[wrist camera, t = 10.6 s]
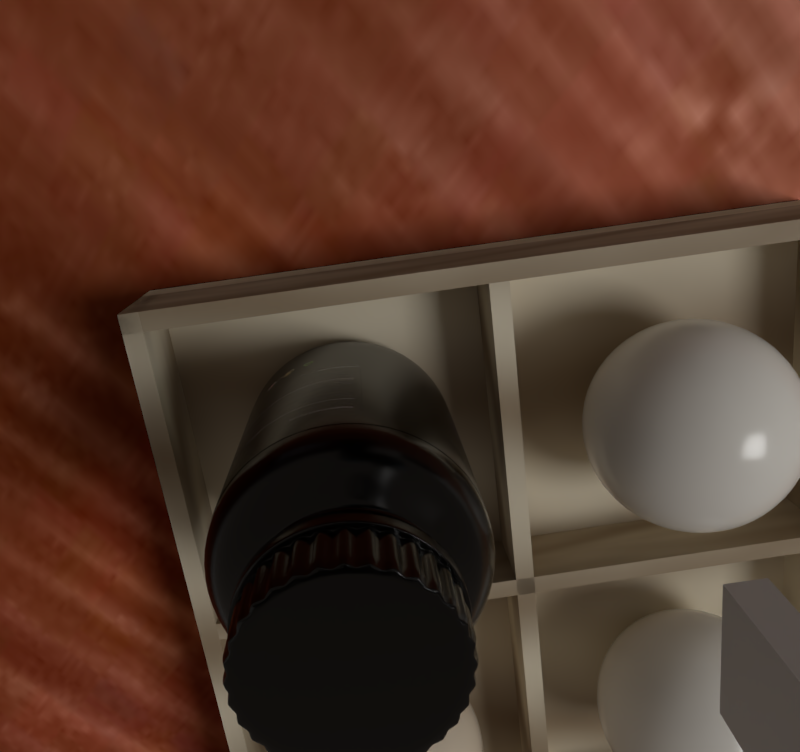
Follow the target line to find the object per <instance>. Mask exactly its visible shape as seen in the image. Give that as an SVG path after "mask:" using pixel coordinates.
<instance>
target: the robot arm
mask: <svg viewBox="0 0 800 752" xmlns="http://www.w3.org/2000/svg"><path fill="white" fill-rule="evenodd" d="M720 714H721V716H722V717H723V719H724V721H725V722H726V724H727V726H728V727H729V729H730V731H731V732H732V734H733V735H734V737H735V739H736V740H737V742H738V744H739V745H740V747H741V749H742V750H743V752H800V613H799V612H798V611H797V610H796V608H795V607H794V606H793V605H792V604H791V603H790V602H789V601H788V600H787V598H786V597H785V596H784V595H783V594H782V593H781V592H780V591H779V590H778V588H777V587H776V586H775V585H774V584H773V583H772V582H771V581H770V580H769V578H764V579H757V580H750V581H742V582H735V583H728V584H723V598H722V639H721V680H720Z"/></svg>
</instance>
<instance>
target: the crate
mask: <svg viewBox="0 0 800 752" xmlns="http://www.w3.org/2000/svg"><path fill="white" fill-rule="evenodd" d="M117 317H118V321H119V325H120V329H121V333H122V336H123V340H124V344H125V348H126V352H127V356H128V360H129V363H130V367H131V371H132V375H133V379H134V383H135V387H136V390H137V394H138V398H139V402H140V406H141V410H142V414H143V418H144V421H145V425H146V429H147V433H148V437H149V441H150V445H151V448H152V452H153V456H154V460H155V464H156V468H157V472H158V476H159V479H160V483H161V487H162V491H163V495H164V499H165V503H166V506H167V510H168V514H169V518H170V522H171V526H172V530H173V533H174V537H175V541H176V545H177V549H178V553H179V557H180V561H181V564H182V568H183V572H184V576H185V580H186V584H187V588H188V591H189V595H190V599H191V603H192V607H193V611H194V615H195V619H196V622H197V626H198V630H199V634H200V638H201V642H202V646H203V649H204V653H205V657H206V661H207V665H208V669H209V673H210V676H211V680H212V684H213V688H214V692H215V696H216V700H217V704H218V707H219V711H220V715H221V719H222V723H223V727H224V731H225V734H226V738H227V742H228V746H229V750H230V752H268V751H267V750H266V749H265V747H264V746H263V745H261V744H259V743H256V742H255V741H253V740H252V739H251V737H250V734H249V732H248V731H247V730H246V729H244V728H243V727H241V726H240V725H239V724H238V722H237V715H236V713H235V712H234V711H233V710H232V709H231V708H230V707H229V706H228V692H227V691H226V689H225V687H224V685H223V674H224V670H225V669H224V666H223V653H224V649H225V645H226V641H227V633H226V631H225V630H224V628H223V626H222V624H221V623H220V621H219V619H218V617H217V615H216V613H215V611H214V608H213V606H212V603H211V600H210V597H209V594H208V590H207V585H206V580H205V569H204V552H205V545H206V538H207V534H208V530H209V526H210V523H211V519H212V515H213V512H214V510H215V507H216V504H217V502H218V499H219V496H220V494H221V491H222V488H223V486H224V483H225V480H226V478H227V475H228V472H229V470H230V467H231V464H232V462H233V459H234V456H235V454H236V451H237V448H238V446H239V443H240V440H241V438H242V435H243V432H244V430H245V427H246V424H247V422H248V419H249V417H250V414H251V411H252V409H253V407H254V405H255V402H256V400H257V398H258V396H259V394H260V393H261V391H262V390H263V388H264V386H265V385H266V383H267V382H268V381H269V380H270V378H271V377H272V376H273V375H274V374H275V373H276V372H277V371H278V370H279V369H280V368H281V367H282V366H283V365H285V364H286V363H287V362H288V361H290V360H292V359H293V358H295V357H296V356H298V355H300V354H302V353H304V352H305V351H308V350H310V349H313V348H315V347H319V346H322V345H326V344H331V343H337V342H366V343H371V344H376V345H380V346H383V347H386V348H389V349H392V350H394V351H396V352H398V353H400V354H402V355H404V356H406V357H407V358H409V359H410V360H412V361H413V362H414V363H416V364H417V365H418V366H419V367H421V368H422V369H423V370H424V371H425V372H426V373H427V374H428V376H429V377H430V378H431V379H432V380H433V382H434V383H435V384H436V386H437V387H438V389H439V390H440V392H441V394H442V396H443V398H444V400H445V402H446V404H447V407H448V409H449V411H450V414H451V416H452V419H453V421H454V424H455V427H456V429H457V432H458V435H459V437H460V440H461V443H462V445H463V448H464V451H465V453H466V456H467V459H468V461H469V464H470V467H471V469H472V472H473V475H474V477H475V480H476V483H477V485H478V488H479V491H480V493H481V496H482V499H483V502H484V504H485V507H486V510H487V513H488V517H489V520H490V524H491V528H492V532H493V538H494V545H495V568H494V576H493V582H492V586H491V590H490V593H489V596H488V599H487V602H486V604H485V607H484V609H483V611H482V613H481V615H480V617H479V619H478V621H477V623H476V624H475V626H474V630H475V634H476V650H477V654H478V659H479V662H478V667H477V670H476V671H475V676H476V686H475V688H474V689H473V691H472V692H471V693H470V701H469V702H470V704H471V706H472V708H473V709H474V712H475V715H476V717H477V720H478V723H479V727H480V731H481V736H482V742H483V752H613V751H612V749H611V747H610V745H609V743H608V741H607V739H606V737H605V734H604V731H603V728H602V725H601V722H600V719H599V712H598V705H597V683H598V677H599V672H600V668H601V665H602V662H603V659H604V657H605V655H606V653H607V651H608V650H609V648H610V646H611V645H612V643H613V642H614V640H615V639H616V638H617V637H618V636H619V634H620V633H621V632H623V631H624V630H625V629H626V628H627V627H628V626H630V625H631V624H632V623H634V622H635V621H637V620H639V619H641V618H643V617H645V616H647V615H649V614H652V613H656V612H659V611H663V610H668V609H693V610H700V611H704V612H708V613H712V614H715V615H718V616H720V617H722V598H723V584H728V583H735V582H742V581H750V580H757V579H764V578H769V580H770V581H771V582H772V583H773V584H774V585H775V586H776V587H777V588H778V590H779V591H780V592H781V593H782V594H783V595H784V596H785V597H786V598H787V600H788V601H789V602H790V603H791V604H792V605H793V606H794V607H795V608H796V610H797V611H798V612H799V613H800V478H799V480H798V482H797V483H796V484H795V486H794V487H793V489H792V490H791V491H790V492H789V494H788V495H787V496H786V497H785V498H784V499H783V500H782V501H781V502H780V503H779V504H778V505H777V506H775V507H774V508H773V509H772V510H770V511H769V512H767V513H766V514H765V515H763V516H761V517H760V518H758V519H756V520H754V521H752V522H750V523H748V524H745V525H743V526H740V527H737V528H734V529H729V530H724V531H719V532H710V533H690V532H683V531H676V530H671V529H668V528H664V527H661V526H658V525H656V524H653V523H651V522H649V521H646V520H644V519H642V518H640V517H639V516H637V515H636V514H634V513H632V512H631V511H629V510H628V509H626V508H625V507H624V506H623V505H621V504H620V503H619V502H618V501H617V500H616V499H615V498H614V497H613V496H612V495H611V494H610V493H609V492H608V490H607V489H606V488H605V487H604V486H603V485H602V483H601V481H600V480H599V478H598V477H597V475H596V473H595V472H594V470H593V468H592V465H591V463H590V461H589V459H588V455H587V452H586V448H585V444H584V440H583V432H582V415H583V407H584V401H585V397H586V394H587V390H588V388H589V385H590V383H591V381H592V379H593V377H594V375H595V373H596V372H597V370H598V368H599V367H600V365H601V364H602V363H603V362H604V360H605V359H606V358H607V357H608V356H609V355H610V353H611V352H612V351H613V350H614V349H615V348H616V347H618V346H619V345H620V344H621V343H623V342H624V341H625V340H627V339H628V338H630V337H631V336H633V335H634V334H636V333H638V332H640V331H642V330H644V329H646V328H648V327H651V326H654V325H657V324H660V323H664V322H669V321H674V320H678V319H691V318H693V319H710V320H716V321H721V322H726V323H729V324H732V325H735V326H738V327H741V328H743V329H746V330H748V331H750V332H752V333H754V334H756V335H757V336H759V337H760V338H762V339H764V340H765V341H766V342H768V343H769V344H770V345H772V346H773V347H774V348H775V349H776V350H777V351H778V352H779V353H780V354H781V355H782V356H783V357H784V358H785V359H786V360H787V361H788V362H789V363H790V364H791V366H792V367H793V369H794V370H795V371H796V373H797V375H798V376H799V378H800V200H796V201H789V202H782V203H775V204H767V205H760V206H753V207H746V208H739V209H732V210H724V211H717V212H710V213H703V214H696V215H689V216H681V217H674V218H667V219H660V220H653V221H646V222H638V223H631V224H624V225H617V226H610V227H603V228H595V229H588V230H581V231H574V232H567V233H560V234H552V235H545V236H538V237H531V238H524V239H517V240H509V241H502V242H495V243H488V244H481V245H474V246H466V247H459V248H452V249H445V250H438V251H431V252H423V253H416V254H409V255H402V256H395V257H388V258H380V259H373V260H366V261H359V262H352V263H345V264H337V265H330V266H323V267H316V268H309V269H302V270H294V271H287V272H280V273H273V274H266V275H259V276H251V277H244V278H237V279H230V280H223V281H216V282H208V283H201V284H194V285H187V286H180V287H173V288H166V289H158V290H151V291H149V292H147V293H146V294H145V295H143V296H142V297H141V298H139V299H138V300H137V301H135V302H134V303H132V304H131V305H130V306H128V307H127V308H126V309H124V310H123V311H122V312H120V313H119V314H118V315H117Z"/></svg>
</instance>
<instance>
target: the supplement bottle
mask: <svg viewBox="0 0 800 752" xmlns="http://www.w3.org/2000/svg"><path fill="white" fill-rule="evenodd" d="M494 568H495V545H494V538H493V532H492V528H491V524H490V520H489V517H488V513H487V510H486V507H485V504H484V502H483V499H482V496H481V493H480V491H479V488H478V485H477V483H476V480H475V477H474V475H473V472H472V469H471V467H470V464H469V461H468V459H467V456H466V453H465V451H464V448H463V445H462V443H461V440H460V437H459V435H458V432H457V429H456V427H455V424H454V421H453V419H452V416H451V414H450V411H449V409H448V407H447V404H446V402H445V400H444V398H443V396H442V394H441V392H440V390H439V389H438V387H437V386H436V384H435V383H434V382H433V380H432V379H431V378H430V377H429V376H428V374H427V373H426V372H425V371H424V370H423V369H422V368H421V367H419V366H418V365H417V364H416V363H414V362H413V361H412V360H410V359H409V358H407V357H406V356H404V355H402V354H400V353H398V352H396V351H394V350H392V349H389V348H386V347H383V346H380V345H376V344H371V343H366V342H337V343H331V344H326V345H322V346H319V347H315V348H313V349H310V350H308V351H305V352H304V353H302V354H300V355H298V356H296V357H295V358H293V359H292V360H290V361H288V362H287V363H286V364H285V365H283V366H282V367H281V368H280V369H279V370H278V371H277V372H276V373H275V374H274V375H273V376H272V377H271V378H270V380H269V381H268V382H267V383H266V385H265V386H264V388H263V390H262V391H261V393H260V394H259V396H258V398H257V400H256V402H255V405H254V407H253V409H252V411H251V414H250V417H249V419H248V422H247V424H246V427H245V430H244V432H243V435H242V438H241V440H240V443H239V446H238V448H237V451H236V454H235V456H234V459H233V462H232V464H231V467H230V470H229V472H228V475H227V478H226V480H225V483H224V486H223V488H222V491H221V494H220V496H219V499H218V502H217V504H216V507H215V510H214V512H213V515H212V519H211V523H210V526H209V530H208V534H207V538H206V545H205V552H204V569H205V580H206V585H207V590H208V594H209V597H210V600H211V603H212V606H213V608H214V611H215V613H216V615H217V617H218V619H219V621H220V623H221V624H222V626H223V628H224V630H225V631H226V633H227V641H226V645H225V649H224V653H223V666H224V669H225V670H224V674H223V685H224V687H225V689H226V691H227V692H228V706H229V707H230V708H231V709H232V710H233V711H234V712H235V713H236V715H237V722H238V724H239V725H240V726H241V727H243V728H244V729H246V730H247V731H248V732H249V734H250V737H251V739H252V740H253V741H255V742H256V743H259V744H261V745H263V746H264V747H265V749H266V750H267V751H268V752H427V751H428V750H429V749H430V747H431V746H432V745H433V744H436V743H438V742H440V741H442V740H443V739H444V738H445V736H446V734H447V732H448V730H450V729H451V728H452V727H454V726H455V725H457V724H458V722H459V719H460V714H461V713H462V712H463V711H464V710H465V709H466V708H467V707H468V706H469V701H470V693H471V692H472V691H473V689H474V688H475V686H476V676H475V671H476V670H477V667H478V662H479V659H478V654H477V650H476V634H475V630H474V626H475V624H476V623H477V621H478V619H479V617H480V615H481V613H482V611H483V609H484V607H485V604H486V602H487V599H488V596H489V593H490V590H491V586H492V582H493V576H494Z"/></svg>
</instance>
